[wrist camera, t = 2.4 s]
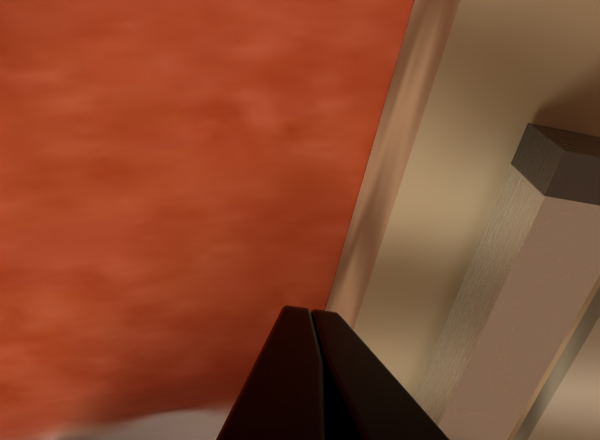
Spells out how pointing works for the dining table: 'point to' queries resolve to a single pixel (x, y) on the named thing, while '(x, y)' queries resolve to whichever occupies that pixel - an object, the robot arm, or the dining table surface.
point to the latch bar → (519, 288)
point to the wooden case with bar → (468, 185)
